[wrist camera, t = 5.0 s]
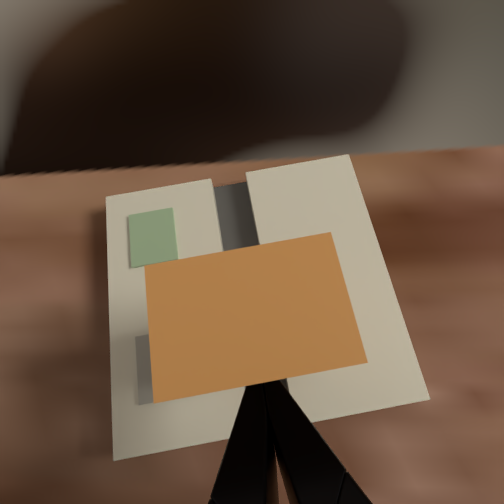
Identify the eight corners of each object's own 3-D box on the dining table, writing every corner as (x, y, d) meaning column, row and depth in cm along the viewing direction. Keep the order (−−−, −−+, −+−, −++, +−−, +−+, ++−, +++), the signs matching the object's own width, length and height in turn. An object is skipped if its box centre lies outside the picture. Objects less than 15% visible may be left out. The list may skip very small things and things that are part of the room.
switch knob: (309, 362, 15) (368, 362, 7) (217, 380, 15) (153, 403, 7) (295, 301, 16) (331, 231, 8) (208, 317, 16) (143, 265, 8)
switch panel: (415, 396, 15) (432, 399, 14) (127, 451, 15) (111, 462, 13) (342, 169, 20) (349, 152, 18) (117, 209, 19) (104, 195, 18)
